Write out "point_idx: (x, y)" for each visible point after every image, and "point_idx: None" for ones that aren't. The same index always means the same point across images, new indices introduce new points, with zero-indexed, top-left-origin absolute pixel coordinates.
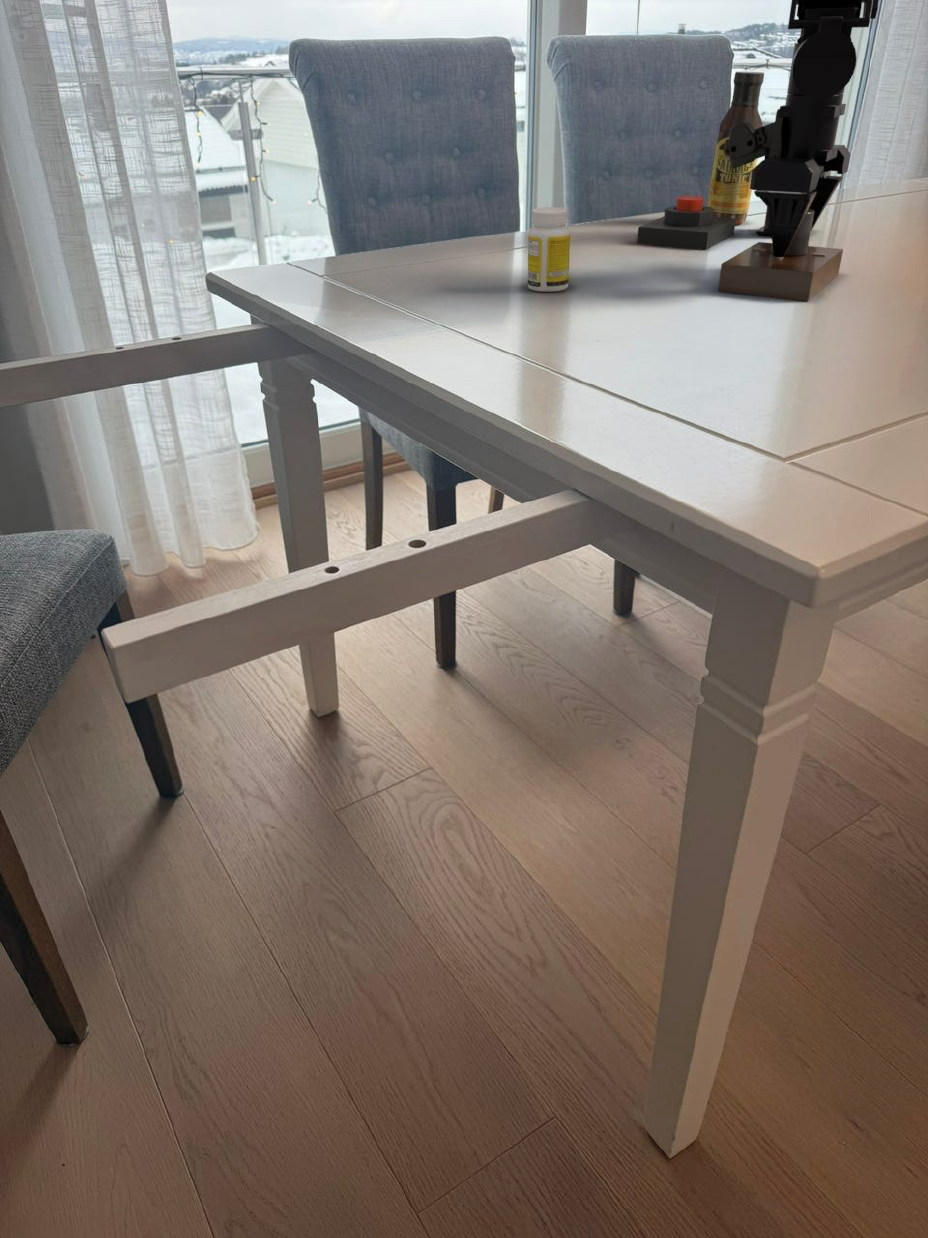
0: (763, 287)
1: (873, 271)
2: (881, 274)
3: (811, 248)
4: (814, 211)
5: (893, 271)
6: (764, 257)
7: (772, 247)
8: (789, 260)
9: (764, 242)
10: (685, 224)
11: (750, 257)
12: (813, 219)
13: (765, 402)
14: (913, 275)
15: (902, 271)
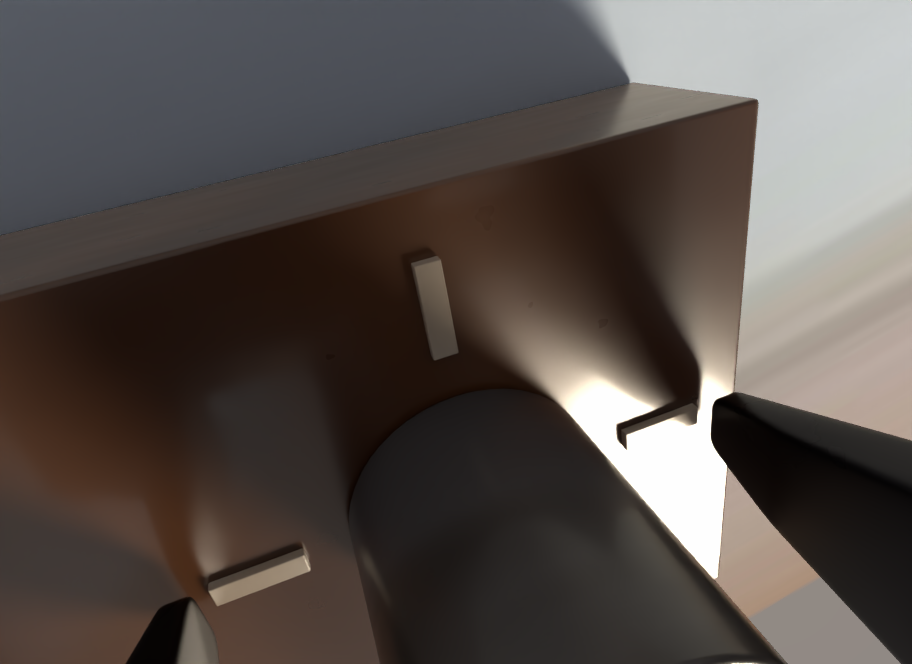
0: None
1: (761, 515)
2: (723, 556)
3: (667, 489)
4: (904, 632)
5: (781, 549)
6: (198, 492)
7: (392, 463)
8: (236, 640)
9: (751, 154)
10: None
11: (91, 431)
12: (843, 585)
13: None
14: (744, 610)
15: (789, 563)
